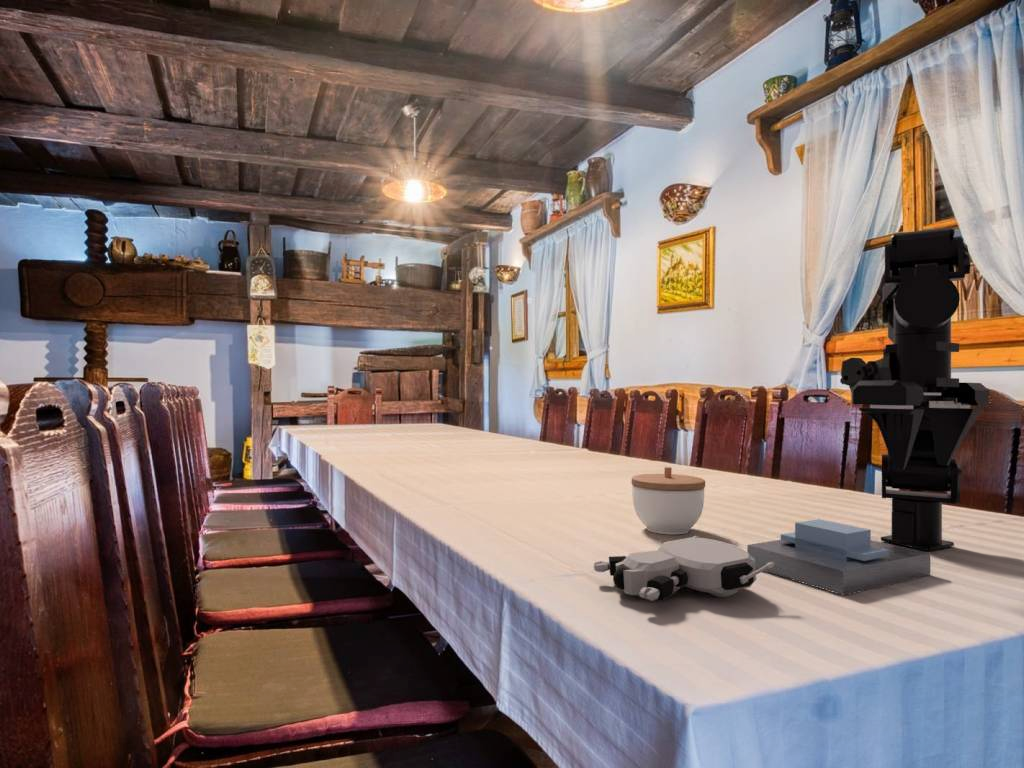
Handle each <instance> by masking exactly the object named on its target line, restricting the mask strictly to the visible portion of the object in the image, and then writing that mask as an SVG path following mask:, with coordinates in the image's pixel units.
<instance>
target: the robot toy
mask: <svg viewBox="0 0 1024 768" xmlns="http://www.w3.org/2000/svg"><path fill="white" fill-rule="evenodd" d="M773 565H774V563H772V562H769V563H767V564H766V565H765V566H764V567H762V568H760V569H756V567H755V559H754V558H753V557H752V556H751V555H750V554H749V553H748V552H747V551H746V550H745V549H743V548H741V547H739V546H737V545H734V544H732V543H728V542H724V541H721V540H716V539H711V538H705V537H700V536H698V535H694V536H691V537H685V538H681V539H675V540H669V541H665V542H663V543H662V544H661V545H660V546H659V547H658V548H657V550H648V551H641V552H640V551H639V552H632V553H631V552H630V553H629V554H628V555H627V556H626V555H620V556H619V555H618V556H609V557H608V562H607V561H605V560H598V561H595V562H594V563H593V570H594V571H595V572H598V573H604V572H607V571H609V575H610V577H611V576H612V580H613V584H614V586H615V587H616V589H617V590H621V591H624V594H626V595H631V596H638V597H639V598H642V599H644V600H647V601H651V602H654V601H656V602H661V601H664V600H666V599H668V598H670V597H671V596H673V594H674V593H676V592H677V591H678V590H679V589H680V588H681V587H685V588H688V589H691V590H695V591H699V592H703V593H709V594H711V595H712V596H715V597H719V598H728V597H731V596H733V595H735V594H736V593H738V591H739V590H742V589H747V588H750V587H752V585H753V584H754V583H755V582H756V581H757V575H758V574H761V573H762V572H765V571H764V570H766V569H768V568H771V567H773Z"/></svg>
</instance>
